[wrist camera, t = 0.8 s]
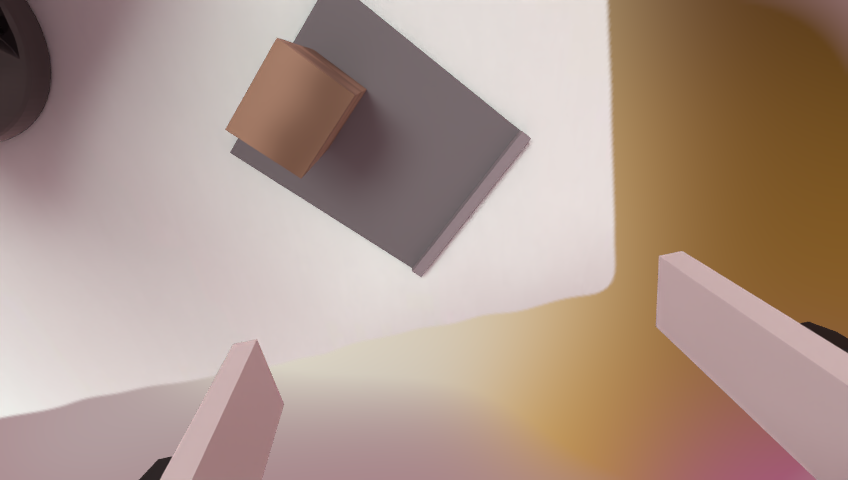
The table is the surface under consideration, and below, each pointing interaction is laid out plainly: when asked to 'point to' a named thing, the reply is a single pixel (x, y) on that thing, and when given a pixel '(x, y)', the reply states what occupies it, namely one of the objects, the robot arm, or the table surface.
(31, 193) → the table surface
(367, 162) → the mat
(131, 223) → the table surface
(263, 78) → the walnut block
